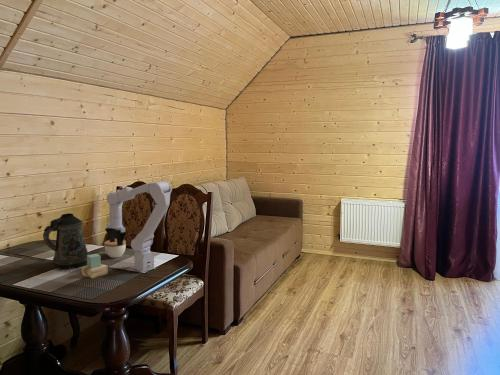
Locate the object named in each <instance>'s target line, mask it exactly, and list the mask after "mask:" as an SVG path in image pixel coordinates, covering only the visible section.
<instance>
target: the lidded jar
mask: <svg viewBox="0 0 500 375" xmlns="http://www.w3.org/2000/svg"><path fill="white" fill-rule="evenodd" d="M103 245H104V251H105V253H106V255H107V256H108V257H109V258H112V259H117V258H120V257H121V258H122V256H123V254H124V253H126V248H127V247H126V246H127V240H125V239H124V240H123V244H122V245H121V246H118V245H117V239H116V238H115V241H114V242H110V241H109V239H108V240H105V241H104V243H103Z"/></svg>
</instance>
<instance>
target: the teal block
mask: <svg viewBox="0 0 500 375" xmlns="http://www.w3.org/2000/svg"><path fill="white" fill-rule="evenodd" d="M101 257H102V256H101V255H100V254H98V253H94V254H93V253H92V254H89V255H87V266H88V267H90V268H96V267H100V266H101V264H102V261H101V260H102V258H101Z"/></svg>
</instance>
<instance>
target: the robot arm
mask: <svg viewBox="0 0 500 375" xmlns="http://www.w3.org/2000/svg"><path fill="white" fill-rule="evenodd" d="M172 191H173V189H172V187H171V184H170V182H169V181H167V180H161V181H153V182H148V183H145V184H142V185H139V186H137V187H135V188H133V187H130V186H124V187H123V188H122V189H117V190H116V191H112V192H110V193H108V194H107V196H106V203H108V204H109V207H108V208H109V209H108V210H109V215H108V216H109V222H107V223H106V227H107V228H105V229H104V230H105V232H106V234H107V236H108V237H107V238H108V240H109V241H110V242H114V241H115V239H117V245H118V246H121V245H122V244H123V240H125V237H126V235H127V234H128V231H126V227H124V225H123V203H124V202H127V201H129V200H133V199H135V197H136V195H139V194H144V193H147V194H150V196H151V197H152V199H153V200H154V203H156V204H155V207H153V209H152V212H151V213H150V215H149V217H148V219H147V221H146V222H145V224H144V226H143V228H142V229H141V231H140V232H139V233H137V234H136V236H135V237H134V238H133V239H132V240H131V242H130V246H131V249H132V250H133V253H134V255H133V256H134V257H133V258H134V265H131V266H130V268H131V269H133V270H135V271H138V272H140V273H144V272H148V271H150V270H151V271H152V270H155V269H157V268H156V266H155V256H154V253H152V251H151V246H152V245H153V242H154V237H155V235H154V233H155V231H156V229H157V228H158V227H159V224H160V222H161V221H162V219H163V218H164V215H165V214H166V212H167V210H168V208H169V207H170V202H171V193H172Z"/></svg>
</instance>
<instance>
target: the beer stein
mask: <svg viewBox="0 0 500 375" xmlns="http://www.w3.org/2000/svg"><path fill="white" fill-rule="evenodd" d="M49 224H50V225H49V226H47V227H45V228H44V230H43V233H42V234H43V235H42V239H43V241H44V243H45V245H46V246H47V247H48V248H49V249H51V250H52V251H53V252H54V256H53V257H52V263H53V266H54V268H55V269H58V270H76V269H79V268H82V267H83V266H86V265H87V255H90V253H89V250H88V248H87V245H86V242H85V236H84V233H83V226H84V222H83V221H82V220H81V219H80V218H78V217H76V216H75V215H74V214H73V213H70V212H69V213H64V214H61V216H60V217H58V218H55V219H52V220H51V221H50V222H49ZM52 232H56V238H55V244H54V243H53V242H52V241H51V240H50V234H51V233H52Z"/></svg>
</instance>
